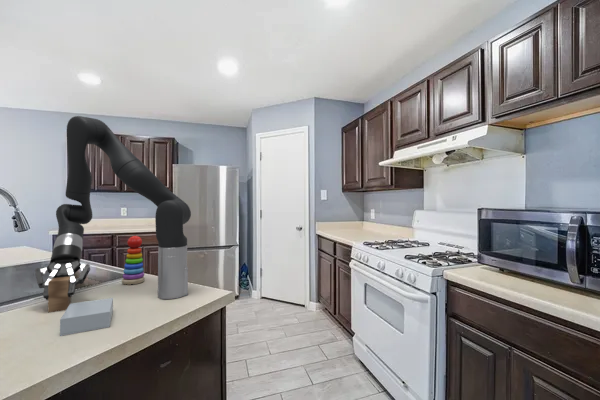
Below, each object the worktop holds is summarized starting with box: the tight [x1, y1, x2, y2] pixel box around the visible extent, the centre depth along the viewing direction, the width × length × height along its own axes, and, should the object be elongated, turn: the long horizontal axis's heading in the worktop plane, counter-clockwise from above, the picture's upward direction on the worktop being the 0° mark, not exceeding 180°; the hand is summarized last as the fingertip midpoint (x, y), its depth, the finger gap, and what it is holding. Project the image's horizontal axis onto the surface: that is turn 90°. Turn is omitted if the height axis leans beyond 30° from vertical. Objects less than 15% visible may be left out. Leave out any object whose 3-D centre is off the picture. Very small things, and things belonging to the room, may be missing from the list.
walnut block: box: [47, 277, 72, 313], centre depth 85 cm, size 4×4×9 cm
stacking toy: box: [121, 235, 145, 286], centre depth 113 cm, size 8×8×19 cm
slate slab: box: [59, 297, 114, 337], centre depth 76 cm, size 10×12×4 cm
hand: (58, 296), depth 83 cm, fingers closed on walnut block, 4 cm apart
